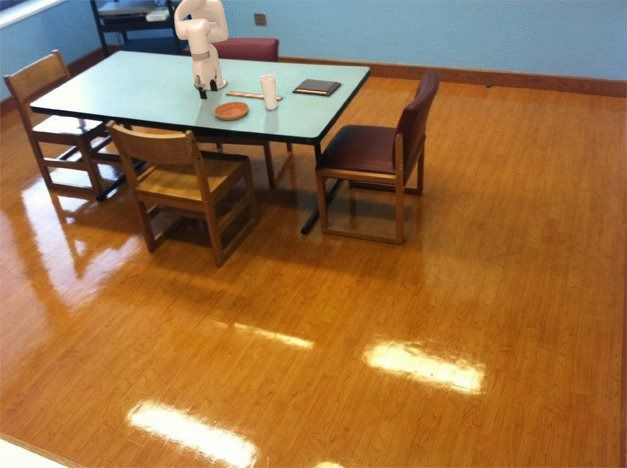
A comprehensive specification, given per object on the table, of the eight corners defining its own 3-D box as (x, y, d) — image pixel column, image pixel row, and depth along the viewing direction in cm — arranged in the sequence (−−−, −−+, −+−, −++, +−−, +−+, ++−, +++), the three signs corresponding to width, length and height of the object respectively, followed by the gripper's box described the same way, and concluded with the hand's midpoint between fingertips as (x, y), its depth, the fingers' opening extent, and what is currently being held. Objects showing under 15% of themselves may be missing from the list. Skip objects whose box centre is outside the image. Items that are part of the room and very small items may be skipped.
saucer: (228, 105, 288) (227, 99, 286) (256, 109, 281) (255, 103, 279) (208, 119, 277) (207, 113, 275) (236, 124, 270) (235, 118, 268)
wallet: (341, 80, 293) (328, 93, 283) (342, 84, 295) (328, 97, 284) (305, 76, 302) (291, 88, 291) (306, 80, 303) (291, 92, 292)
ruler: (226, 94, 298) (226, 93, 297) (229, 92, 300) (229, 90, 300) (279, 100, 286) (279, 99, 286) (282, 98, 288) (282, 96, 288)
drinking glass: (276, 110, 277) (272, 80, 268) (262, 111, 279) (258, 80, 270) (280, 104, 283) (276, 74, 274) (266, 104, 284) (261, 74, 275)
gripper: (204, 47, 257) (212, 86, 267) (181, 62, 244) (190, 102, 255) (219, 48, 254) (227, 87, 264) (196, 63, 241) (205, 104, 252)
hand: (209, 94), depth 259 cm, fingers open, 7 cm apart
